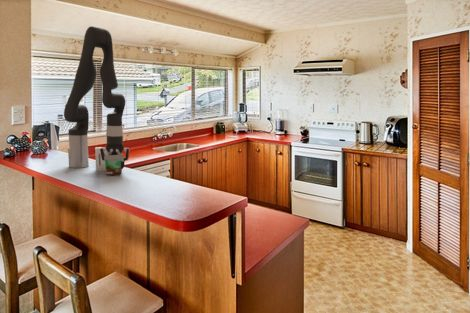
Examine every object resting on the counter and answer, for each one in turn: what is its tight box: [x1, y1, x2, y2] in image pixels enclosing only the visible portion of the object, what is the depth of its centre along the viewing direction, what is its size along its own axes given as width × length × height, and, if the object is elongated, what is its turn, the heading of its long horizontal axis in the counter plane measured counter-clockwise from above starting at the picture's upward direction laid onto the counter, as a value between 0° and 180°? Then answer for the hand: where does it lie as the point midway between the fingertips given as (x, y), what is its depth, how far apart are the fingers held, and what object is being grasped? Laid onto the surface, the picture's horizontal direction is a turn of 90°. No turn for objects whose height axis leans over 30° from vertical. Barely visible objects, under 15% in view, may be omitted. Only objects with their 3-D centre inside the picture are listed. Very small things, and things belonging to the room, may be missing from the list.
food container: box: [104, 152, 125, 176], centre depth 177 cm, size 12×6×10 cm, turn 169°
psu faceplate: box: [94, 146, 109, 172], centre depth 184 cm, size 11×2×12 cm, turn 100°
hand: (115, 168), depth 177 cm, fingers closed on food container, 6 cm apart
